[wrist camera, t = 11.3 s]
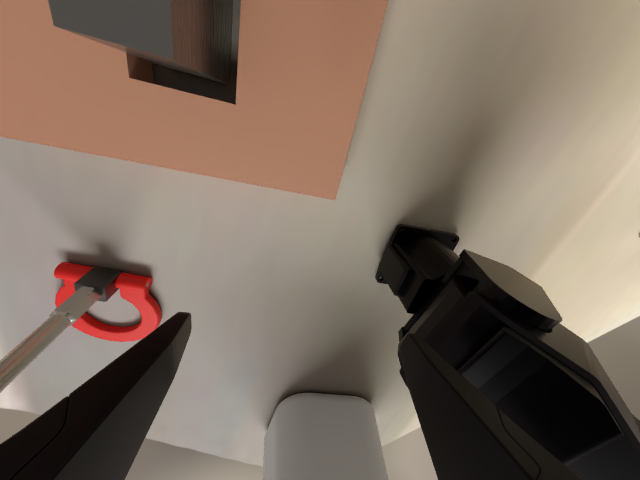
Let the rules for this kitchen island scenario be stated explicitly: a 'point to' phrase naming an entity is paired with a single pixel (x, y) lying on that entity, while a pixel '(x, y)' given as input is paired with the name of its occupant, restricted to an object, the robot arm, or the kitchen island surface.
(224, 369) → the kitchen island surface
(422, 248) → the robot arm
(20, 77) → the tan flat board
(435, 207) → the kitchen island surface
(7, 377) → the tow hook
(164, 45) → the dark gray brick
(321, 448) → the plastic bottle
